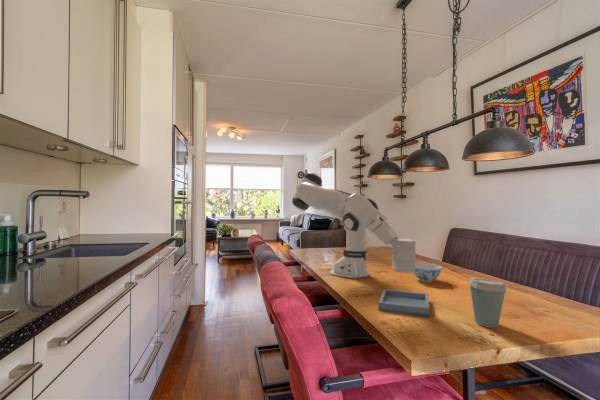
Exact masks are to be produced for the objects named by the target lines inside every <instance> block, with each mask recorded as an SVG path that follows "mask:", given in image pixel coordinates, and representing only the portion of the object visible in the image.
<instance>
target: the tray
mask: <svg viewBox="0 0 600 400" xmlns="http://www.w3.org/2000/svg"><path fill="white" fill-rule="evenodd" d="M430 310H431V309H430V301H429V294H428V293H423V292H415V291H414V292H413V291H405V290H396V289H386V288H384V289H383V290H382V293H381V295H380V298H379V300H378V311H382V312H389V313H394V314H396V313H397V314H404V315H409V316H416V317H417V316H418V317H419V316H420V317H426V318H430V315H431V313H430Z"/></svg>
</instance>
